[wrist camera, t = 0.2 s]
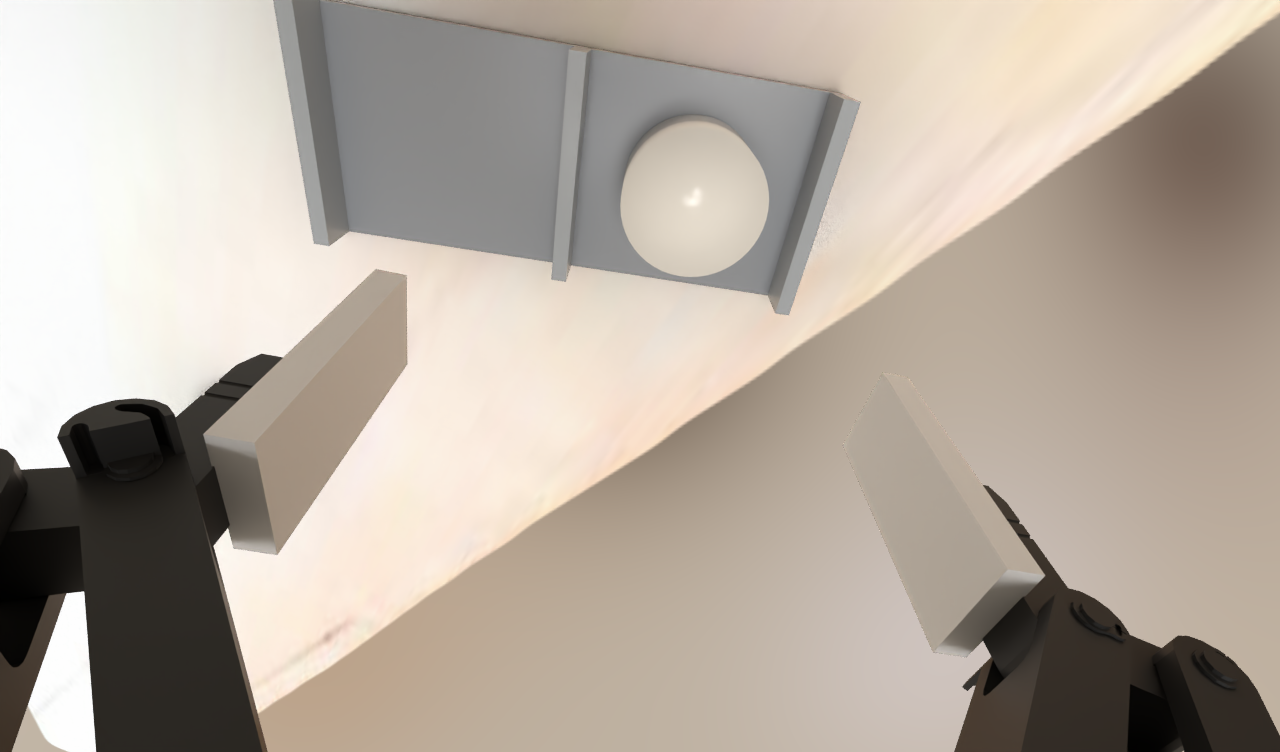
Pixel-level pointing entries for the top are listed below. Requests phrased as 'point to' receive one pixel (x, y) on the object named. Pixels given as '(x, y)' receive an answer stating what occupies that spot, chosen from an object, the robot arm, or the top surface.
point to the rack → (531, 141)
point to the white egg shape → (693, 196)
